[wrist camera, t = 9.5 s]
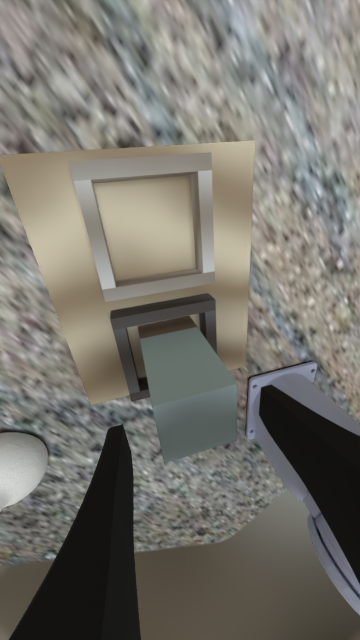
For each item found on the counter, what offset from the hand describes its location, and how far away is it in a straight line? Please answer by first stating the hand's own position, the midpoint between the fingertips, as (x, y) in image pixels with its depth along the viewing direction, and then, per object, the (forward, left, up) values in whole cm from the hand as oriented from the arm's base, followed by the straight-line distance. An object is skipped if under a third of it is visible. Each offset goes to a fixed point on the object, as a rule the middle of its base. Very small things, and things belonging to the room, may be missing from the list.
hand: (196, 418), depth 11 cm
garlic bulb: (-9, +15, -9) cm, 20 cm away
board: (+4, 0, -9) cm, 10 cm away
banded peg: (0, 0, -8) cm, 8 cm away
